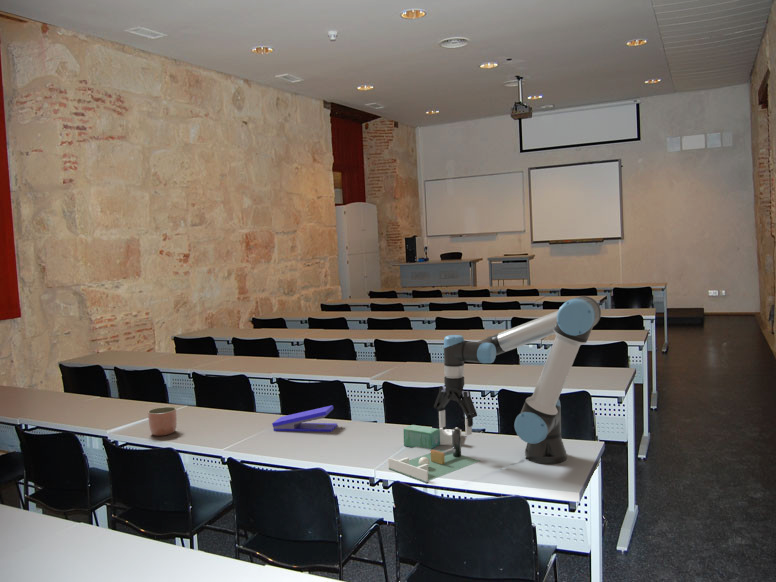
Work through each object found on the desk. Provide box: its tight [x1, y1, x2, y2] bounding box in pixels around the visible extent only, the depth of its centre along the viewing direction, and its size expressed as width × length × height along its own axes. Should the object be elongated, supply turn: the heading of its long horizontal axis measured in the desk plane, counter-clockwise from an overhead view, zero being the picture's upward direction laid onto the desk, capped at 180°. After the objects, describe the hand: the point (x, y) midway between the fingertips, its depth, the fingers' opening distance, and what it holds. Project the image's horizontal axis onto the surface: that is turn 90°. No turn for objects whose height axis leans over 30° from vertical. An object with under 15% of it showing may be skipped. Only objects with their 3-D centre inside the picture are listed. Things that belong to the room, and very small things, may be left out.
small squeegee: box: [430, 427, 462, 465], centre depth 236 cm, size 6×13×10 cm, turn 131°
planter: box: [147, 406, 178, 437], centre depth 290 cm, size 12×12×11 cm
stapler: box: [271, 404, 338, 433], centre depth 289 cm, size 12×28×10 cm, turn 79°
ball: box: [419, 457, 430, 466], centre depth 228 cm, size 4×4×4 cm
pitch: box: [387, 448, 481, 484], centre depth 232 cm, size 20×28×4 cm
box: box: [403, 424, 440, 450], centre depth 256 cm, size 7×14×8 cm, turn 57°
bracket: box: [439, 427, 462, 446], centre depth 260 cm, size 13×7×8 cm, turn 167°
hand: (455, 430), depth 239 cm, fingers open, 13 cm apart
